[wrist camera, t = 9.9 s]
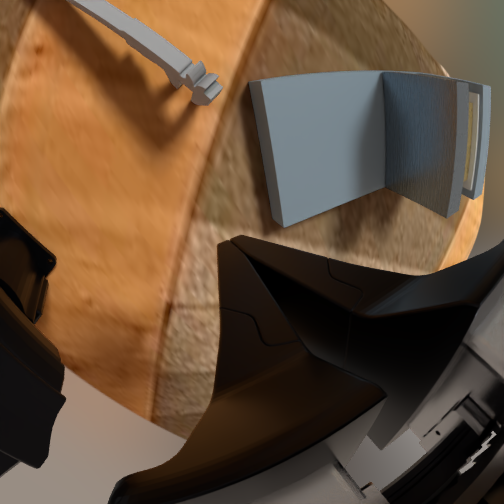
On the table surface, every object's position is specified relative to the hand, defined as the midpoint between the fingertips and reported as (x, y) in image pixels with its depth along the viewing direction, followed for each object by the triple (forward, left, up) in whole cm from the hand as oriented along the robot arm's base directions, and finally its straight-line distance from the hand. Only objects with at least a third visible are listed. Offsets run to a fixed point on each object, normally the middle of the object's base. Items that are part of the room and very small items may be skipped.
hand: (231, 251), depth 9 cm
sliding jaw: (+9, +19, -11) cm, 24 cm away
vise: (+8, +17, -13) cm, 23 cm away
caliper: (-12, +3, -14) cm, 18 cm away
